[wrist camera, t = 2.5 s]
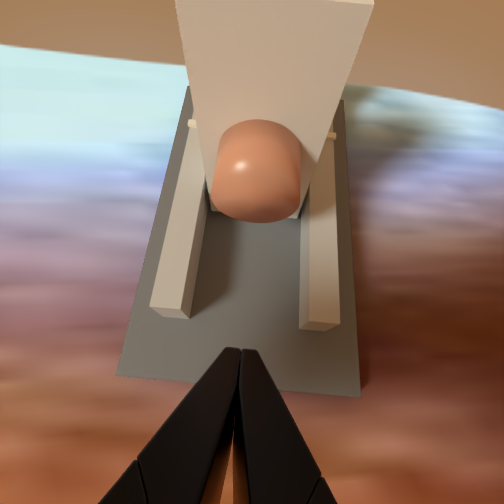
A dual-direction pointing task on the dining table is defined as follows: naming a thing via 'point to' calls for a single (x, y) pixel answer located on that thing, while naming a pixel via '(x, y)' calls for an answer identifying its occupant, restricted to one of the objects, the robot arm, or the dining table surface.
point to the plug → (266, 94)
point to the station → (248, 279)
